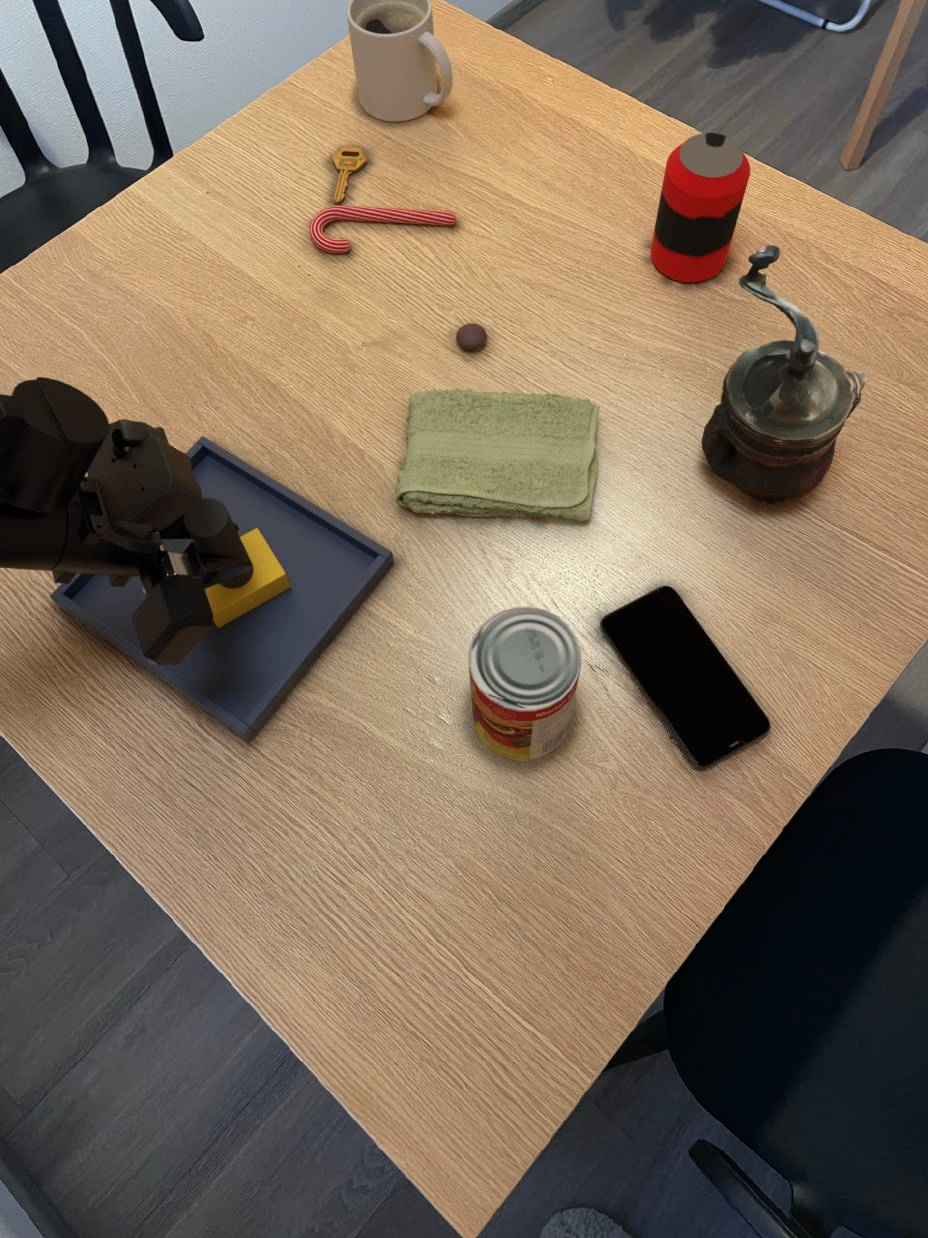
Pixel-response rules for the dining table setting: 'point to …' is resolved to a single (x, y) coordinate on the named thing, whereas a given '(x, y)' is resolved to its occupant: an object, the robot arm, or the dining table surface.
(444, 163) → the dining table surface
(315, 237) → the candy cane
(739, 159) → the soda can
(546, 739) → the canned food
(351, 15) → the mug
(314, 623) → the tray
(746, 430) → the coffee grinder
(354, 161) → the key
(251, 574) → the sponge wand
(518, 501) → the washcloth
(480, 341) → the chocolate truffle
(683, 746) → the smartphone
